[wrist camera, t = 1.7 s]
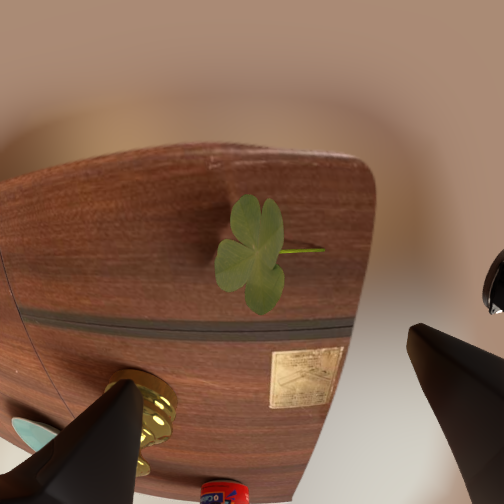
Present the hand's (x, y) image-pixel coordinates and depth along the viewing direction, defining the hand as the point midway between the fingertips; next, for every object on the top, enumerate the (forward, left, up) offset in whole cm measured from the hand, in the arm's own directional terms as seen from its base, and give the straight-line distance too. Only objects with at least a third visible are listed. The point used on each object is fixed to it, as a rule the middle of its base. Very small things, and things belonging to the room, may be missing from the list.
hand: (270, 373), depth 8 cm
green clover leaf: (0, +1, -12) cm, 12 cm away
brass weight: (+14, +14, -12) cm, 23 cm away
